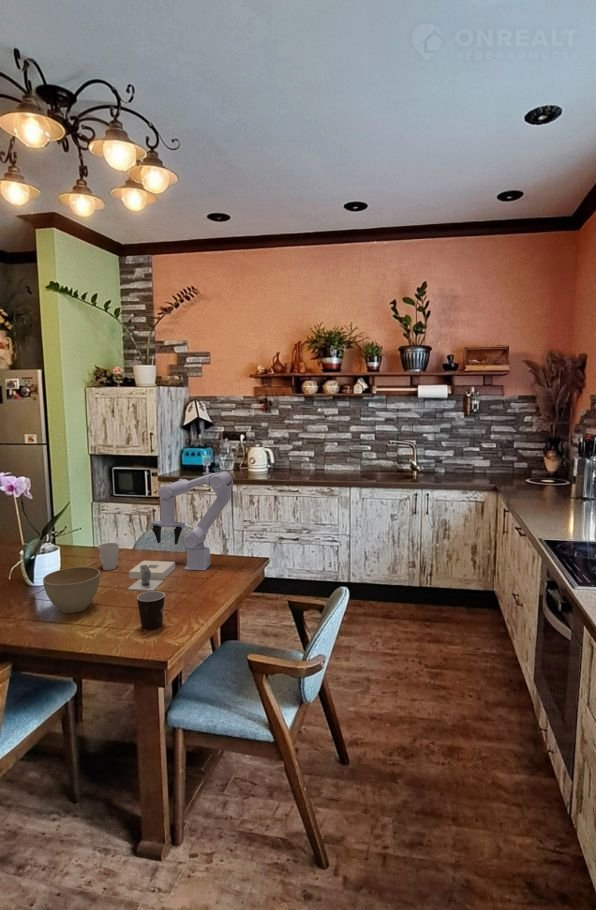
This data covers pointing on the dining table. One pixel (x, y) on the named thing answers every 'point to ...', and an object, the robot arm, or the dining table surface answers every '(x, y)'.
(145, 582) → the t key
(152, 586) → the grey mat
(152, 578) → the key housing
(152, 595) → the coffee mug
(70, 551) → the dining table surface
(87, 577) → the brown bowl
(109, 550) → the cup
